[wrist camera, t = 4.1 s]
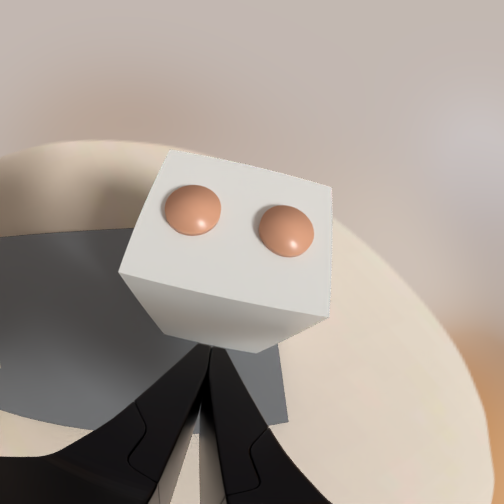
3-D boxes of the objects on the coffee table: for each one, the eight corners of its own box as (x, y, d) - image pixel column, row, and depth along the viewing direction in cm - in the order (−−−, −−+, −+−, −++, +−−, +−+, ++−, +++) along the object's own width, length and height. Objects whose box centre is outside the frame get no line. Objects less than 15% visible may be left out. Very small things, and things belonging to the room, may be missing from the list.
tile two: (256, 353, 14) (332, 315, 6) (164, 334, 14) (116, 268, 6) (266, 285, 16) (334, 182, 8) (181, 266, 16) (169, 144, 8)
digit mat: (-56, 385, 8) (-60, 384, 7) (-42, 245, 13) (-46, 241, 12) (285, 420, 13) (288, 422, 13) (257, 229, 18) (259, 224, 18)
